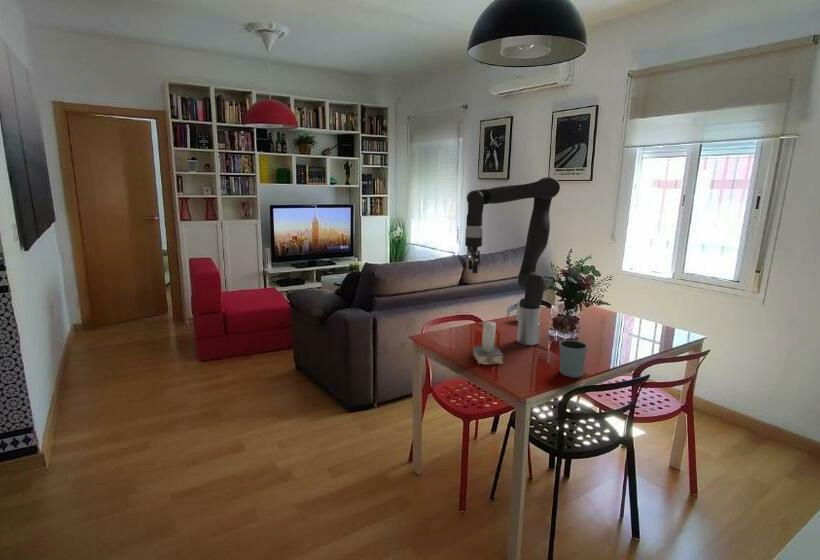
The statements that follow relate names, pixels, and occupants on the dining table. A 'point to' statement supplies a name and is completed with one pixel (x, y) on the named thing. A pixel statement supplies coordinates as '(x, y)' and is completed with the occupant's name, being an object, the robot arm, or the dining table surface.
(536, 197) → the robot arm
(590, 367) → the dining table surface
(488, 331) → the pale grey rectangular block
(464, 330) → the dining table surface
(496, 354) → the plinth
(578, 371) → the plant pot
